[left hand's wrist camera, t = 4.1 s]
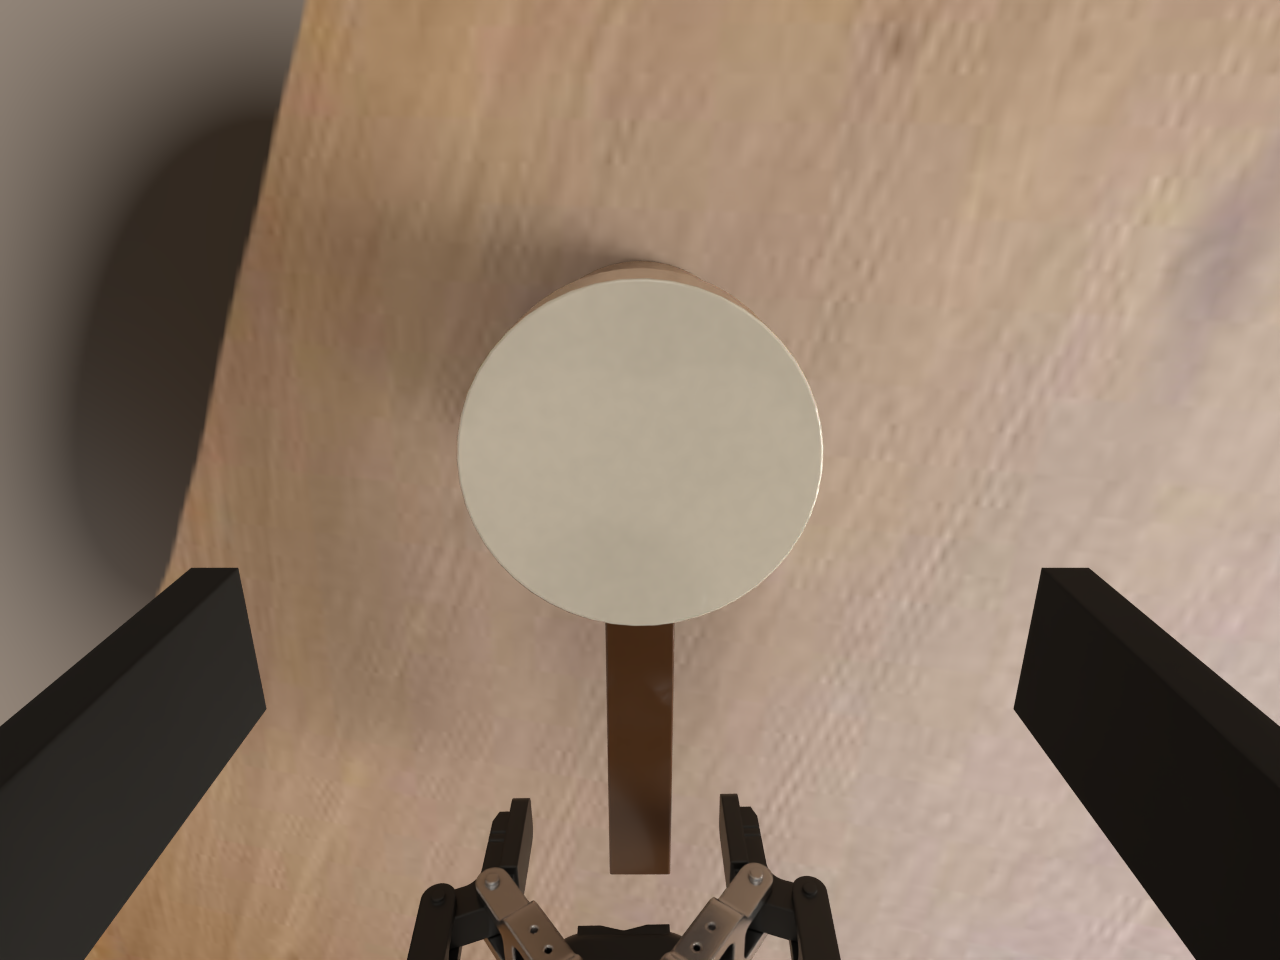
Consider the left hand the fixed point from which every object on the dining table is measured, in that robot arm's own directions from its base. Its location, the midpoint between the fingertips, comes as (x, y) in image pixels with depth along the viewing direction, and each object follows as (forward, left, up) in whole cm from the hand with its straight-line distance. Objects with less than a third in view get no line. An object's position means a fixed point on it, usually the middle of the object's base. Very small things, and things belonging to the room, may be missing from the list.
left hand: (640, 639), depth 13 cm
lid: (0, 0, -12) cm, 12 cm away
